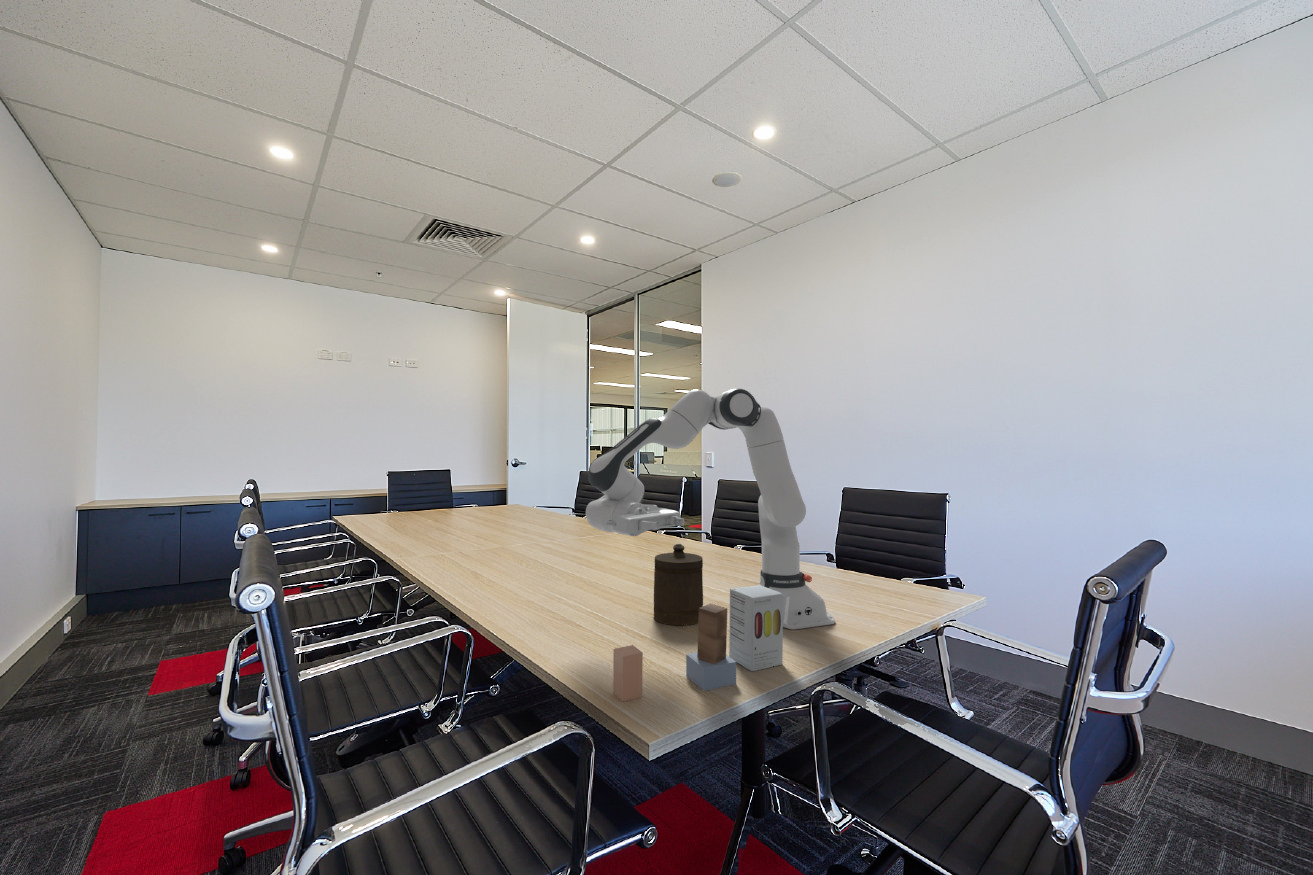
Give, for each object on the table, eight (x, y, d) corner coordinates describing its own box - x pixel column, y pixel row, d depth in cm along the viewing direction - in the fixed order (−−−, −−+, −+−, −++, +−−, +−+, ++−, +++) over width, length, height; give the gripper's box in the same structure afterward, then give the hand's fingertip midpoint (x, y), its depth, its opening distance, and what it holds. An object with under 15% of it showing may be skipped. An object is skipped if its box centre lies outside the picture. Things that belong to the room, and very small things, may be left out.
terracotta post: (632, 687, 109) (632, 644, 110) (642, 696, 105) (642, 652, 106) (613, 692, 107) (613, 648, 107) (622, 701, 103) (622, 656, 103)
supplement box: (751, 672, 117) (751, 597, 117) (727, 657, 125) (727, 588, 125) (784, 664, 121) (784, 592, 122) (759, 650, 130) (759, 583, 130)
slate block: (717, 670, 119) (717, 648, 119) (736, 685, 111) (736, 661, 111) (686, 676, 115) (686, 654, 115) (703, 692, 108) (703, 668, 108)
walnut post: (709, 652, 116) (710, 603, 116) (725, 658, 113) (727, 608, 113) (697, 658, 113) (698, 607, 113) (714, 664, 110) (715, 613, 110)
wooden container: (696, 608, 163) (696, 539, 164) (708, 624, 149) (708, 548, 149) (650, 611, 161) (650, 540, 162) (658, 627, 146) (658, 549, 147)
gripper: (602, 510, 130) (641, 515, 121) (657, 504, 145) (695, 508, 136) (602, 535, 130) (641, 542, 120) (657, 526, 145) (695, 532, 135)
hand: (670, 524), depth 128 cm, fingers open, 8 cm apart
